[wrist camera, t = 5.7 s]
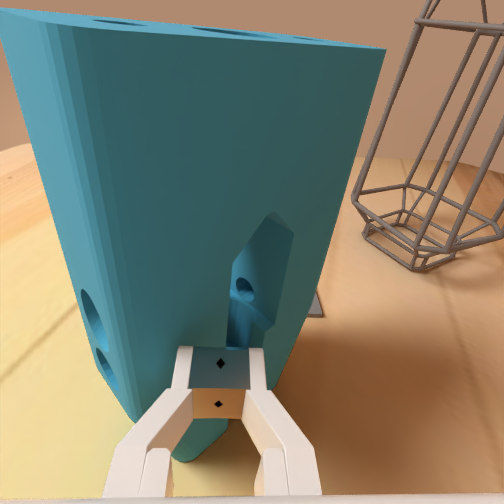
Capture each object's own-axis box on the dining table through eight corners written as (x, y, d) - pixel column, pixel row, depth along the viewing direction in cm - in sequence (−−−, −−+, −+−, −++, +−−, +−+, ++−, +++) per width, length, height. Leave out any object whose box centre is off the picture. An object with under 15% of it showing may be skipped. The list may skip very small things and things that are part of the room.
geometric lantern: (504, 271, 37) (878, -250, 17) (412, 308, 30) (849, -485, 10) (398, 208, 48) (548, -155, 28) (313, 224, 41) (428, -237, 21)
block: (252, 325, 27) (295, 35, 15) (298, 365, 24) (395, 50, 12) (109, 422, 19) (-19, 5, 8) (153, 496, 17) (59, 25, 5)
